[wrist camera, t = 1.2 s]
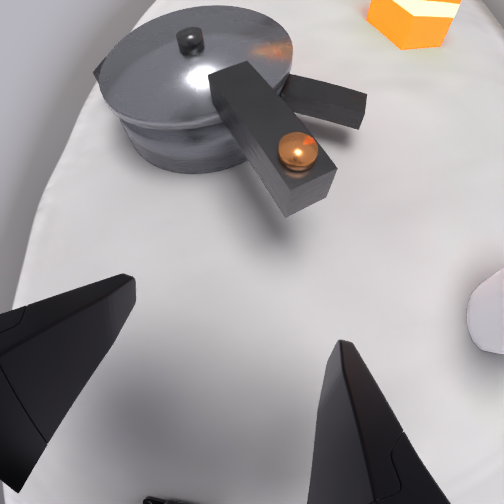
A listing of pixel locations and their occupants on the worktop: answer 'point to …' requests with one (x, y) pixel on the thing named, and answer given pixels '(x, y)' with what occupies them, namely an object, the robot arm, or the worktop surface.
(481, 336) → the foam cup
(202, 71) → the cooker lid
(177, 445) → the worktop surface
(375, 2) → the orange juice
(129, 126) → the cooker pot
